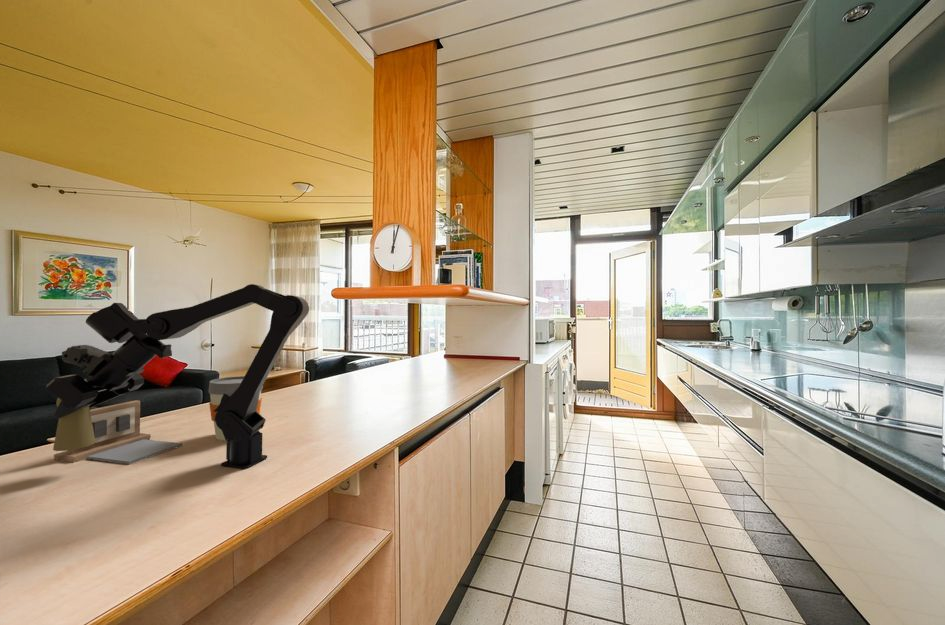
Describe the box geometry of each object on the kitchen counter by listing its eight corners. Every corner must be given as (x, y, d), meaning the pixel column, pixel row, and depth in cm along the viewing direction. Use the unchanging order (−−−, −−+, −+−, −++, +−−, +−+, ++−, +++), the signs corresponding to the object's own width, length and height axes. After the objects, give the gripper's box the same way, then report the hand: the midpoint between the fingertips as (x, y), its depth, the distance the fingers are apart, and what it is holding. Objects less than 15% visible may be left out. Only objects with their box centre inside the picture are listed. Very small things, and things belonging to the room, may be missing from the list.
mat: (182, 445, 94) (182, 443, 94) (129, 464, 82) (129, 461, 82) (143, 441, 96) (143, 439, 96) (87, 459, 85) (87, 456, 85)
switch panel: (150, 438, 98) (151, 400, 98) (74, 462, 83) (75, 416, 83) (132, 437, 100) (133, 399, 100) (53, 459, 84) (54, 414, 84)
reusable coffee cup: (272, 431, 106) (273, 378, 106) (227, 445, 94) (228, 385, 94) (242, 425, 111) (243, 374, 111) (196, 438, 99) (197, 381, 99)
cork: (73, 451, 74) (73, 395, 75) (43, 450, 75) (43, 395, 75) (103, 440, 81) (104, 389, 81) (76, 440, 81) (76, 388, 81)
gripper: (129, 329, 88) (71, 378, 85) (59, 334, 69) (-16, 396, 67) (167, 362, 89) (112, 412, 87) (109, 375, 71) (37, 438, 69)
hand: (67, 413), depth 77 cm, fingers closed on cork, 5 cm apart
